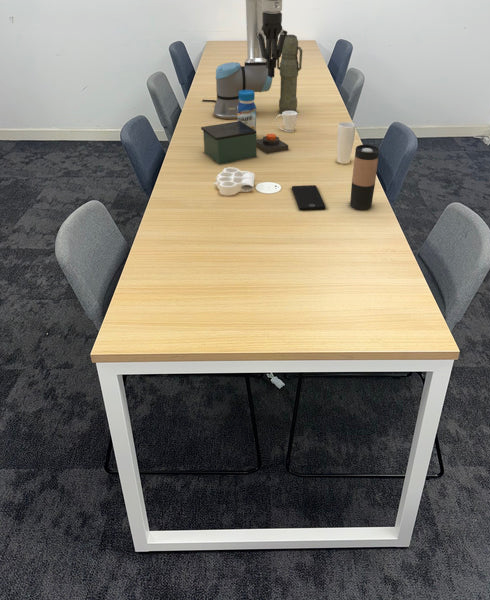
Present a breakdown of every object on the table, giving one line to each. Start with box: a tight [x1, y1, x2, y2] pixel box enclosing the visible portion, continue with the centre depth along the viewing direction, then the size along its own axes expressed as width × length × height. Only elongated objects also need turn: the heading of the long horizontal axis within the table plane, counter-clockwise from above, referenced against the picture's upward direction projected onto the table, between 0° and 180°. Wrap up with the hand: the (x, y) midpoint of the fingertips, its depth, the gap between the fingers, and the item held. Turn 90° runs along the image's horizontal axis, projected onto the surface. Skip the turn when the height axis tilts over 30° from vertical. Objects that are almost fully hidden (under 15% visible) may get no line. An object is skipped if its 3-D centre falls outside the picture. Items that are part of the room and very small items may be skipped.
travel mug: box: [349, 144, 380, 211], centre depth 181 cm, size 8×8×20 cm
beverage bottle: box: [237, 90, 258, 132], centre depth 236 cm, size 8×8×20 cm
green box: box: [202, 130, 257, 165], centre depth 222 cm, size 17×15×10 cm
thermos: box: [276, 34, 304, 114], centre depth 264 cm, size 9×12×35 cm
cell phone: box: [291, 184, 327, 211], centre depth 191 cm, size 9×18×1 cm, turn 7°
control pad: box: [256, 135, 289, 155], centre depth 231 cm, size 12×10×4 cm
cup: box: [274, 111, 299, 133], centre depth 249 cm, size 7×10×8 cm
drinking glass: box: [336, 121, 356, 165], centre depth 216 cm, size 7×7×15 cm
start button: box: [265, 133, 277, 140], centre depth 230 cm, size 4×4×2 cm
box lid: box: [200, 120, 257, 140], centre depth 219 cm, size 18×15×1 cm
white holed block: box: [213, 166, 256, 197], centre depth 199 cm, size 3×18×15 cm
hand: (271, 76), depth 223 cm, fingers closed
